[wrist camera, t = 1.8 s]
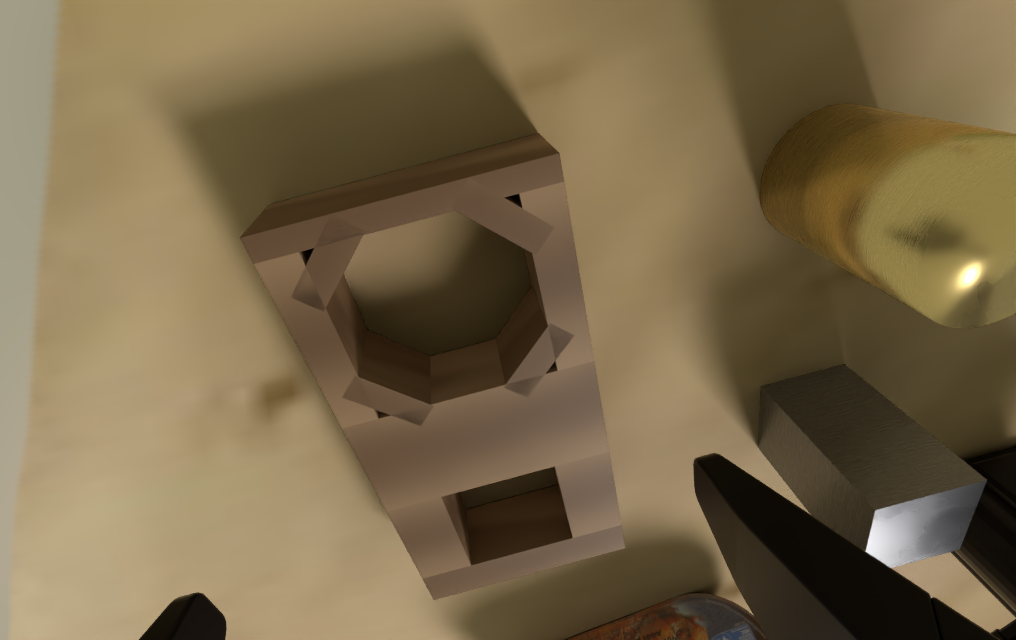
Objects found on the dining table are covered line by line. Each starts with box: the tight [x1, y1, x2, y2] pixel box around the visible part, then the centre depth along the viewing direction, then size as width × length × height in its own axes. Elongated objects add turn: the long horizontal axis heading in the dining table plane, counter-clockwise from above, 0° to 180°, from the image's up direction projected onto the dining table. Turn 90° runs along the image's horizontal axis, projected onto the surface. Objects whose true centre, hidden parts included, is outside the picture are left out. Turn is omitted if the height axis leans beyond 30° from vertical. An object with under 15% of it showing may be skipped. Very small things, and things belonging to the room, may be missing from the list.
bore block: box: [240, 133, 625, 600], centre depth 20 cm, size 18×9×3 cm, turn 13°
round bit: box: [760, 104, 1016, 328], centre depth 16 cm, size 5×5×7 cm
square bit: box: [758, 364, 987, 568], centre depth 22 cm, size 4×4×7 cm
